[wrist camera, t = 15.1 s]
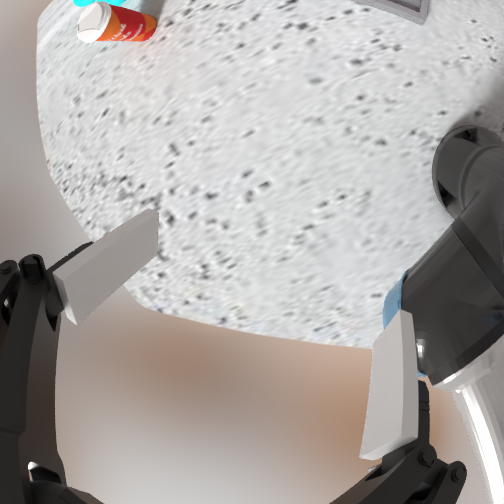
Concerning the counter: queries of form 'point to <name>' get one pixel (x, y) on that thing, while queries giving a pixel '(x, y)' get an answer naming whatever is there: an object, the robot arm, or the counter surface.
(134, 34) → the paper cup
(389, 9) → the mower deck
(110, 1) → the donuts
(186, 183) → the counter surface
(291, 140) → the counter surface
